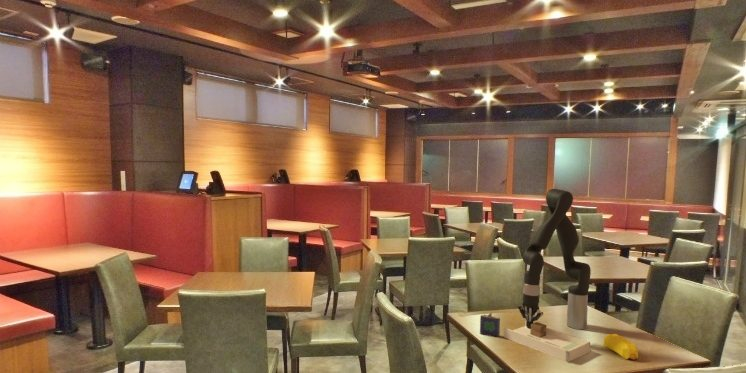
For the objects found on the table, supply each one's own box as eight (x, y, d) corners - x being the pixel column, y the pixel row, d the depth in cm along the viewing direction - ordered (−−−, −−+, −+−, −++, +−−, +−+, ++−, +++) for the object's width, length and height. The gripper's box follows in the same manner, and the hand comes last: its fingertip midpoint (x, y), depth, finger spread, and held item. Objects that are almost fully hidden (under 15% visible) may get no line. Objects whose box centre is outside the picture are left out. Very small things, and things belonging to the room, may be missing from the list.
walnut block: (536, 332, 212) (537, 321, 212) (546, 335, 208) (546, 325, 208) (530, 334, 209) (530, 323, 209) (539, 337, 205) (540, 327, 205)
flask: (499, 335, 212) (500, 313, 212) (499, 337, 210) (499, 315, 209) (480, 332, 216) (480, 310, 215) (479, 334, 213) (479, 312, 213)
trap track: (526, 329, 221) (526, 320, 220) (589, 351, 195) (590, 341, 195) (503, 337, 210) (504, 328, 210) (567, 362, 184) (568, 351, 184)
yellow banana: (626, 362, 186) (643, 361, 187) (627, 346, 186) (643, 346, 187) (599, 344, 204) (614, 344, 205) (599, 330, 204) (614, 330, 205)
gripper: (548, 295, 209) (546, 331, 209) (524, 288, 219) (522, 322, 220) (538, 297, 204) (537, 334, 205) (514, 290, 215) (513, 325, 216)
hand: (529, 328), depth 213 cm, fingers closed
